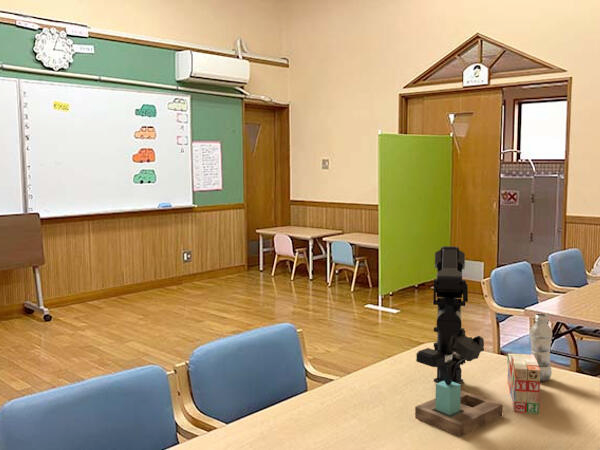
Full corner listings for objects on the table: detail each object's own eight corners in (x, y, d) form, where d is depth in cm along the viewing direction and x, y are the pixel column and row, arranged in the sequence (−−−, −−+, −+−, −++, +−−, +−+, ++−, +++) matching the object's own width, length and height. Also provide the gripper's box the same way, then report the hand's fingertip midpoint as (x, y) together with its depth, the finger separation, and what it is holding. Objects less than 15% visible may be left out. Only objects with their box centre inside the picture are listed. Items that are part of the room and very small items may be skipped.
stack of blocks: (506, 383, 175) (507, 343, 174) (529, 384, 174) (530, 344, 173) (514, 412, 155) (515, 367, 154) (539, 414, 153) (540, 369, 152)
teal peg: (435, 421, 150) (435, 383, 149) (446, 416, 153) (446, 379, 152) (449, 427, 147) (449, 388, 146) (460, 422, 149) (460, 384, 148)
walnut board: (415, 417, 152) (415, 406, 152) (457, 399, 164) (457, 389, 163) (460, 436, 142) (460, 424, 141) (502, 415, 153) (502, 404, 152)
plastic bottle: (553, 378, 178) (555, 313, 176) (549, 385, 173) (551, 319, 171) (530, 374, 182) (532, 311, 180) (526, 381, 176) (527, 316, 174)
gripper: (452, 338, 135) (451, 403, 137) (498, 323, 147) (497, 383, 148) (415, 328, 144) (414, 389, 145) (461, 315, 155) (460, 372, 157)
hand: (448, 383), depth 149 cm, fingers closed
